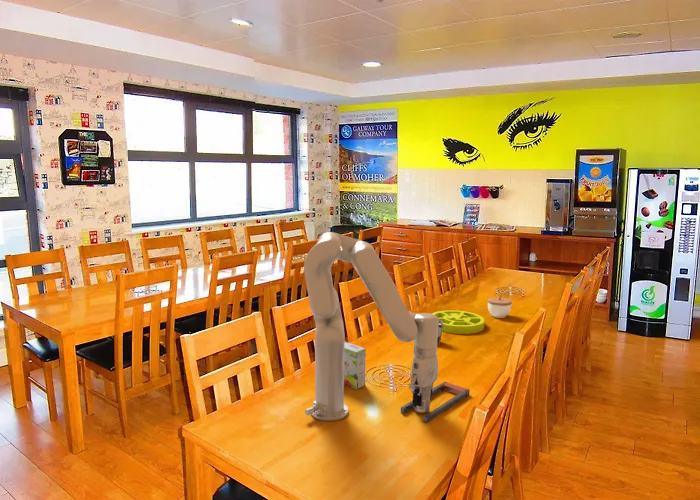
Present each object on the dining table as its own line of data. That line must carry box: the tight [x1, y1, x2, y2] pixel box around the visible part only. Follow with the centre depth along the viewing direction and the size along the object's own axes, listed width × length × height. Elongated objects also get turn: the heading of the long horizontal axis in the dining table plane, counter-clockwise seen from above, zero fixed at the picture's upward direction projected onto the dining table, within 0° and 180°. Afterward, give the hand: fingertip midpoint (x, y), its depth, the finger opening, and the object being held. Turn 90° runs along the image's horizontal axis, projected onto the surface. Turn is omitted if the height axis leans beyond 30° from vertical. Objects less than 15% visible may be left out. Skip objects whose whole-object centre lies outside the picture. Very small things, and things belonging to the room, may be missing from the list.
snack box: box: [344, 341, 366, 390], centre depth 198 cm, size 21×6×15 cm, turn 47°
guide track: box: [400, 381, 471, 424], centre depth 180 cm, size 28×10×2 cm, turn 138°
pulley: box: [431, 309, 485, 335], centre depth 267 cm, size 28×28×5 cm
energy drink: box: [413, 383, 431, 414], centre depth 173 cm, size 5×5×12 cm
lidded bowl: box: [487, 296, 513, 319], centre depth 283 cm, size 13×13×11 cm
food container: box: [437, 320, 444, 346], centre depth 243 cm, size 12×6×10 cm, turn 58°
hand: (422, 401), depth 174 cm, fingers closed on energy drink, 5 cm apart
